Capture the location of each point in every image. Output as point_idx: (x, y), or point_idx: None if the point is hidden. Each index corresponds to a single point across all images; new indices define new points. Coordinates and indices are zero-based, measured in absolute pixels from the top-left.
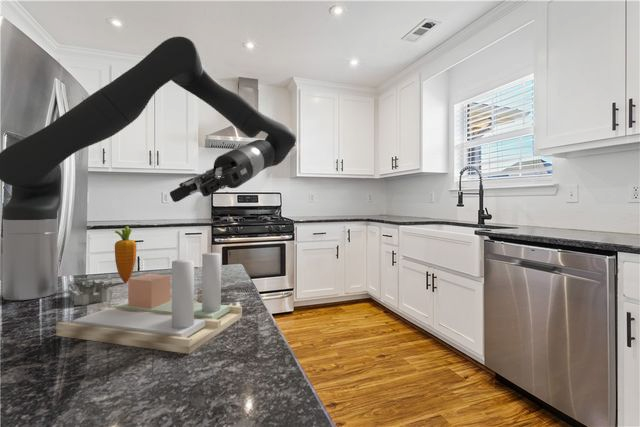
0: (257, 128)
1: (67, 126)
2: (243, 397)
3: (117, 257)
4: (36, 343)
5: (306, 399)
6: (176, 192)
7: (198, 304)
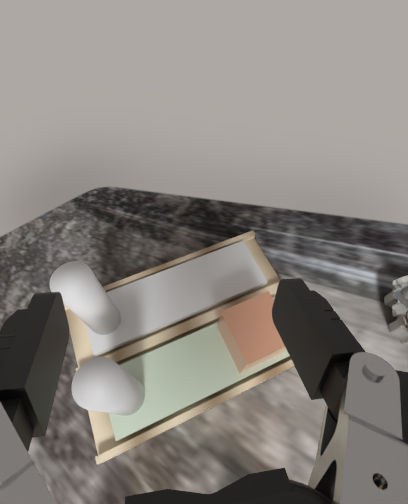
0: None
1: None
2: None
3: None
4: (240, 222)
5: None
6: (288, 303)
7: (175, 398)
